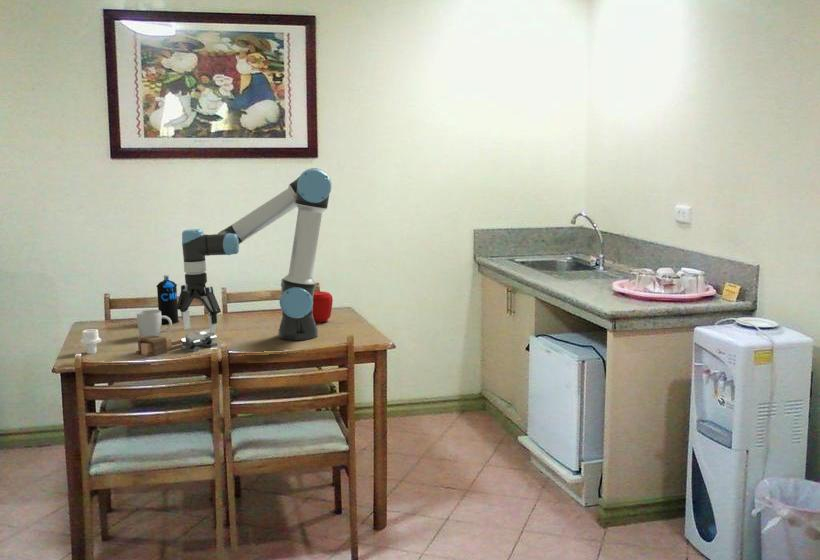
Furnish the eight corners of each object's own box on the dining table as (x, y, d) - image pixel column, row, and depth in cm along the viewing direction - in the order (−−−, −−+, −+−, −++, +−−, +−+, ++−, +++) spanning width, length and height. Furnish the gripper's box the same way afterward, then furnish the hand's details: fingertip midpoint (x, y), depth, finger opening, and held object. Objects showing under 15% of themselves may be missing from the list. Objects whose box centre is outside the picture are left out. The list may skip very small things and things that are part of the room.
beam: (197, 344, 288) (196, 330, 287) (150, 356, 271) (150, 341, 270) (180, 341, 293) (179, 327, 292) (133, 353, 275) (133, 338, 274)
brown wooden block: (171, 349, 282) (171, 338, 281) (147, 355, 273) (147, 344, 272) (165, 348, 283) (164, 337, 283) (141, 354, 275) (140, 343, 274)
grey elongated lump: (205, 336, 289) (207, 326, 287) (212, 341, 287) (214, 331, 286) (184, 341, 280) (186, 331, 279) (191, 346, 279) (193, 336, 277)
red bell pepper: (337, 321, 327) (337, 289, 325) (317, 324, 320) (316, 292, 318) (323, 317, 335) (323, 286, 333) (303, 320, 328) (302, 289, 326)
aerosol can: (155, 322, 327) (152, 275, 324) (174, 319, 332) (171, 273, 329) (163, 325, 321) (160, 277, 318) (182, 322, 326) (179, 275, 323)
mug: (138, 341, 294) (136, 315, 292) (138, 336, 302) (136, 310, 301) (173, 338, 298) (171, 312, 296) (172, 333, 306) (170, 308, 305)
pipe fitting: (99, 354, 274) (98, 332, 273) (78, 355, 273) (76, 332, 272) (104, 350, 280) (103, 328, 279) (84, 350, 280) (82, 328, 278)
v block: (217, 345, 286) (217, 335, 285) (194, 352, 277) (193, 341, 276) (203, 343, 290) (203, 332, 289) (180, 349, 280) (179, 338, 280)
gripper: (228, 273, 275) (232, 331, 279) (179, 269, 289) (184, 325, 292) (212, 276, 269) (216, 336, 273) (163, 272, 282) (168, 329, 286)
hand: (200, 330), depth 282 cm, fingers open, 13 cm apart
